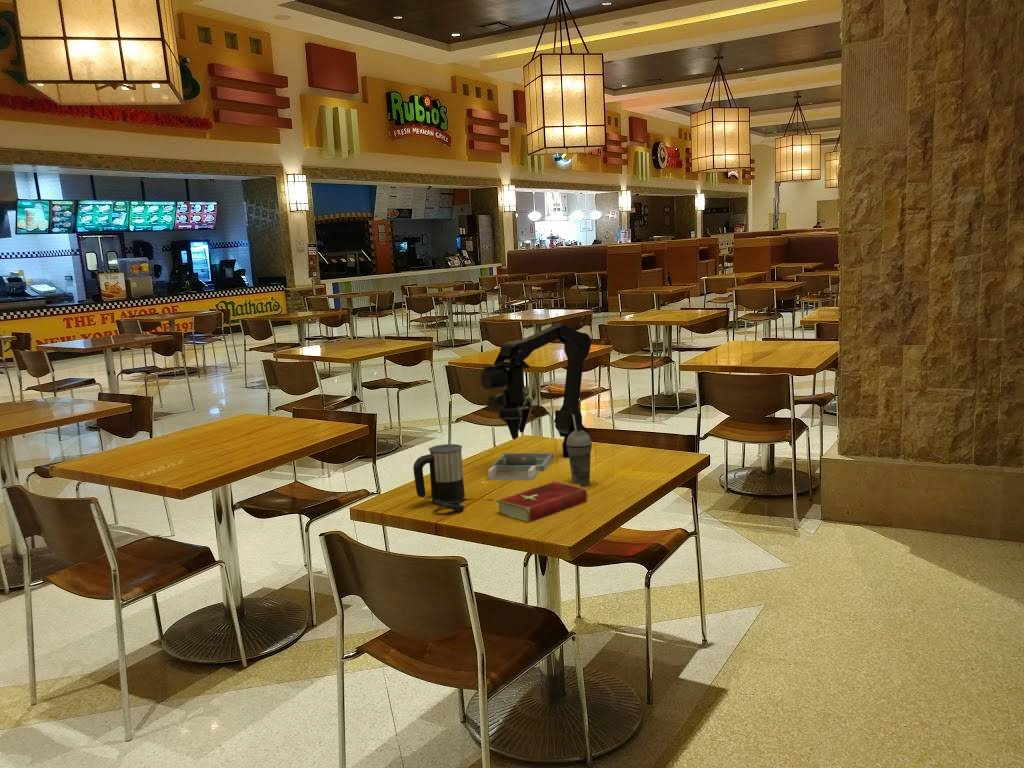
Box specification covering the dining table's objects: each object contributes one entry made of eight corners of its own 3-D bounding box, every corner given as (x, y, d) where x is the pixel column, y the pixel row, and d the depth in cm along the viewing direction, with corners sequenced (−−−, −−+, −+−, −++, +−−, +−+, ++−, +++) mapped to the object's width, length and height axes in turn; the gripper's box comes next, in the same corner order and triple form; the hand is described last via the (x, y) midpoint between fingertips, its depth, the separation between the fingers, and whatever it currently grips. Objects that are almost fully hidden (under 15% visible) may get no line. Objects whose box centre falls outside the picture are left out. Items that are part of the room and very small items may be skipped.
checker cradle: (538, 475, 244) (538, 464, 244) (532, 483, 237) (532, 472, 236) (493, 475, 248) (492, 464, 247) (485, 483, 240) (484, 471, 240)
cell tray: (553, 460, 260) (553, 453, 260) (543, 474, 246) (542, 466, 245) (504, 460, 264) (503, 453, 264) (491, 474, 250) (490, 465, 249)
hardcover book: (587, 503, 217) (587, 487, 216) (529, 524, 203) (527, 507, 203) (555, 495, 226) (554, 480, 225) (497, 514, 212) (496, 499, 212)
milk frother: (452, 493, 233) (448, 441, 230) (489, 503, 221) (485, 449, 219) (411, 506, 223) (406, 452, 221) (447, 517, 212) (443, 461, 209)
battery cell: (536, 466, 252) (535, 453, 252) (533, 470, 249) (532, 457, 248) (507, 466, 255) (506, 454, 254) (504, 470, 251) (503, 457, 250)
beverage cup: (592, 488, 228) (589, 417, 225) (566, 488, 230) (562, 417, 227) (595, 480, 235) (592, 411, 232) (570, 480, 237) (566, 412, 234)
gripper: (496, 380, 258) (500, 429, 261) (480, 390, 241) (483, 443, 243) (531, 379, 256) (534, 428, 258) (517, 389, 238) (520, 442, 240)
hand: (518, 435), depth 250 cm, fingers open, 9 cm apart
